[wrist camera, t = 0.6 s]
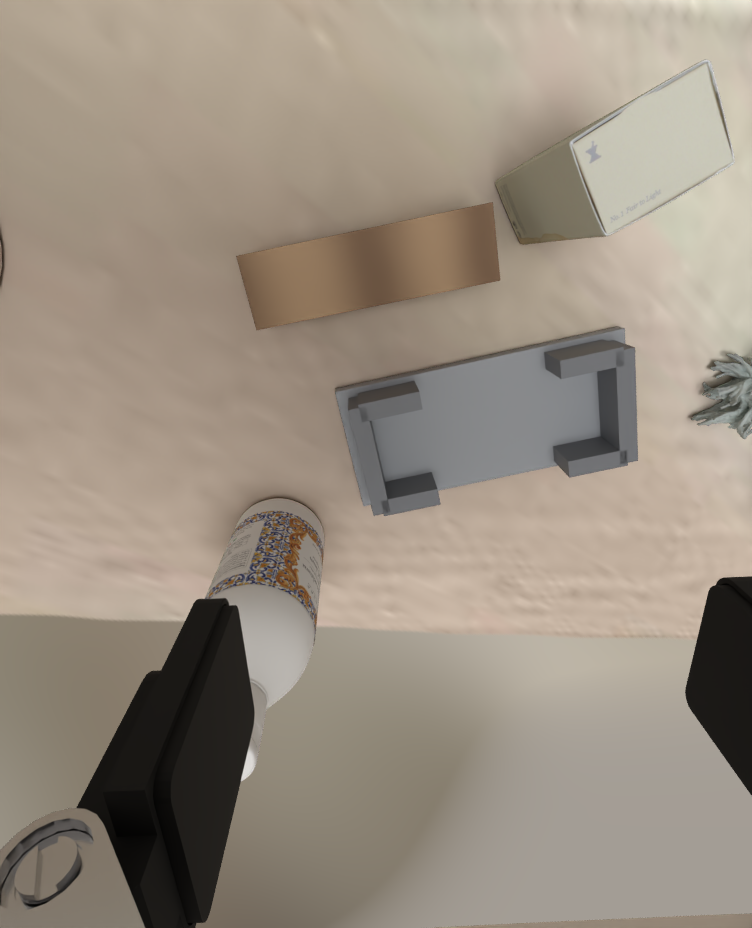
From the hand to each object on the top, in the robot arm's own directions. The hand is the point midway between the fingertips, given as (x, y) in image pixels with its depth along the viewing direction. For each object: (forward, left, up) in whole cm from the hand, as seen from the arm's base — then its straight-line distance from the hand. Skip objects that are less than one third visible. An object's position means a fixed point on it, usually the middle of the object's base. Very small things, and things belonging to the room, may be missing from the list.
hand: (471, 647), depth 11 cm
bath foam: (-11, -11, -29) cm, 33 cm away
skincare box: (+12, +9, -29) cm, 32 cm away
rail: (+6, -5, -29) cm, 30 cm away
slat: (0, +7, -29) cm, 29 cm away
